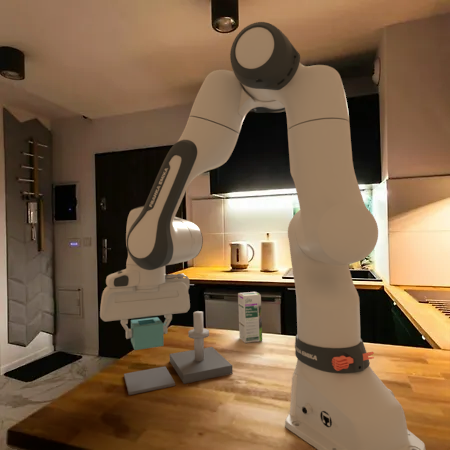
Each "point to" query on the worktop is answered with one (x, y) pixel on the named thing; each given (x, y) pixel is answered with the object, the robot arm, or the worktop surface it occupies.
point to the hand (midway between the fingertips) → (146, 335)
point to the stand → (199, 357)
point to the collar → (147, 333)
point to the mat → (148, 380)
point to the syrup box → (250, 317)
